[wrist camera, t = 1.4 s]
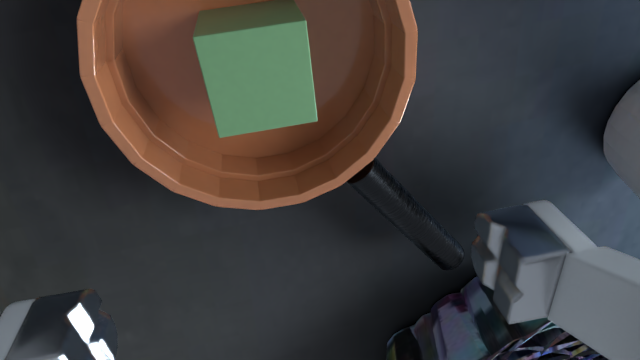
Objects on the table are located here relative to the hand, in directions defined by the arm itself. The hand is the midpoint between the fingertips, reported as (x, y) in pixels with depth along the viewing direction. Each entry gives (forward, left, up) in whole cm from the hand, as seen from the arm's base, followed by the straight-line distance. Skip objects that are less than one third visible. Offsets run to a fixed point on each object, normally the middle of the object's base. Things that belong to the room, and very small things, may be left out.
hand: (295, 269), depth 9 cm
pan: (0, 0, -16) cm, 16 cm away
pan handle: (+12, 0, -14) cm, 18 cm away
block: (0, 0, -16) cm, 16 cm away
